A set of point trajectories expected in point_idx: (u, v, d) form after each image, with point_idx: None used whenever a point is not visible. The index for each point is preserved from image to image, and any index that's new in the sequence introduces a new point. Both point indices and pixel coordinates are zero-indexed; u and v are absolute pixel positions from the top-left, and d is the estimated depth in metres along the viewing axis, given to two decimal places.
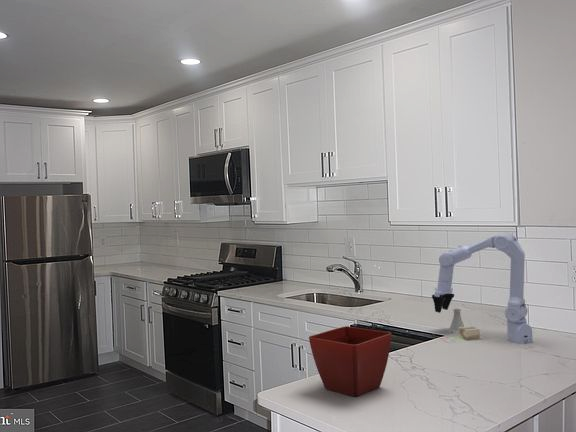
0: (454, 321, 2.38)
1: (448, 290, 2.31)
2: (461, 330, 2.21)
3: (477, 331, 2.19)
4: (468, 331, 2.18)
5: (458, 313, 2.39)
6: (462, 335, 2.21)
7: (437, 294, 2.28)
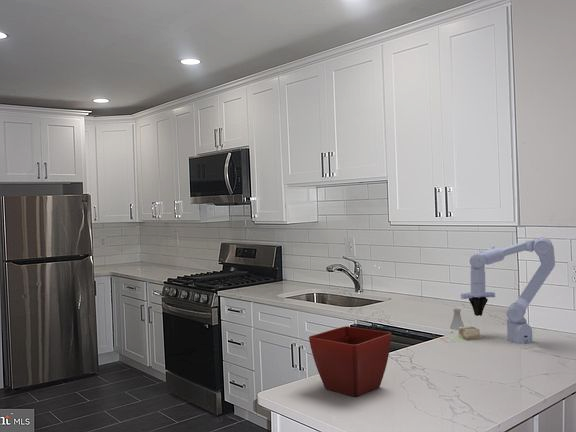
0: (454, 321, 2.38)
1: (478, 292, 2.20)
2: (461, 330, 2.21)
3: (477, 331, 2.19)
4: (468, 331, 2.18)
5: (458, 313, 2.39)
6: (462, 335, 2.21)
7: (462, 296, 2.20)
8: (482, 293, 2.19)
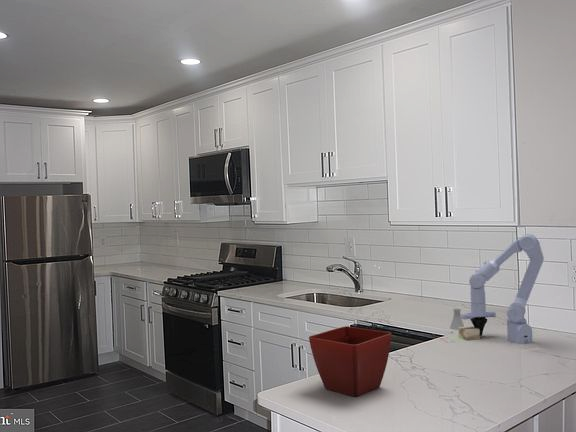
0: (454, 321, 2.38)
1: (478, 313, 2.19)
2: (461, 330, 2.21)
3: (477, 331, 2.19)
4: (468, 331, 2.18)
5: (458, 313, 2.39)
6: (462, 335, 2.21)
7: (462, 316, 2.20)
8: (482, 313, 2.19)
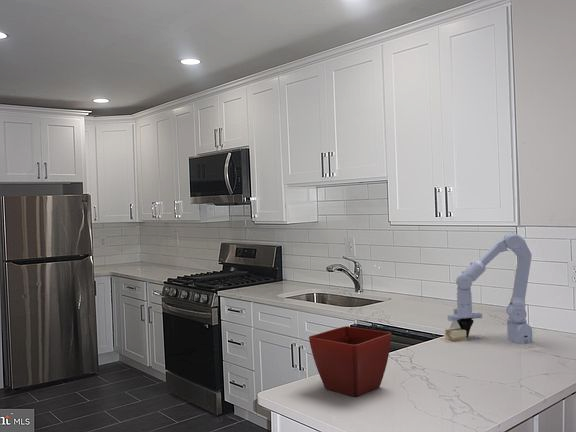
0: (454, 321, 2.38)
1: (465, 314, 2.18)
2: (448, 331, 2.19)
3: (464, 332, 2.17)
4: (455, 332, 2.16)
5: None
6: (449, 336, 2.19)
7: (449, 318, 2.19)
8: (469, 314, 2.18)
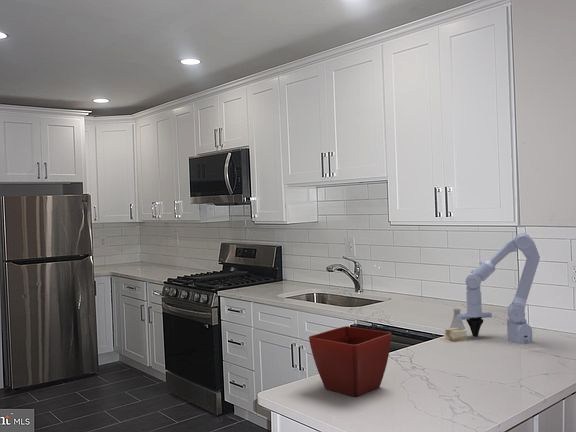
0: (454, 321, 2.38)
1: (474, 313, 2.19)
2: (448, 331, 2.19)
3: (464, 332, 2.17)
4: (455, 332, 2.16)
5: (458, 313, 2.39)
6: (449, 336, 2.19)
7: (458, 317, 2.20)
8: (478, 314, 2.19)
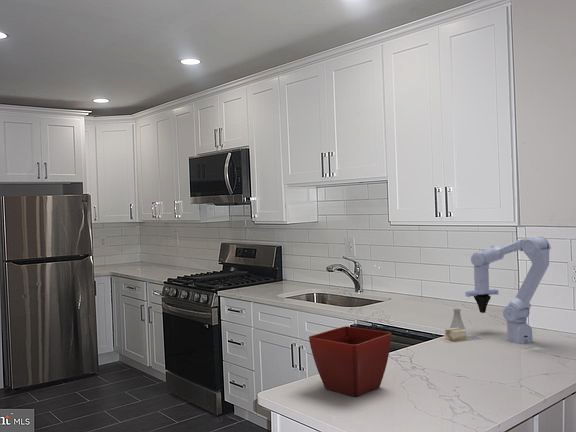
0: (454, 321, 2.38)
1: (482, 290, 2.25)
2: (448, 331, 2.19)
3: (464, 332, 2.17)
4: (455, 332, 2.16)
5: (458, 313, 2.39)
6: (449, 336, 2.19)
7: (467, 294, 2.26)
8: (486, 290, 2.25)
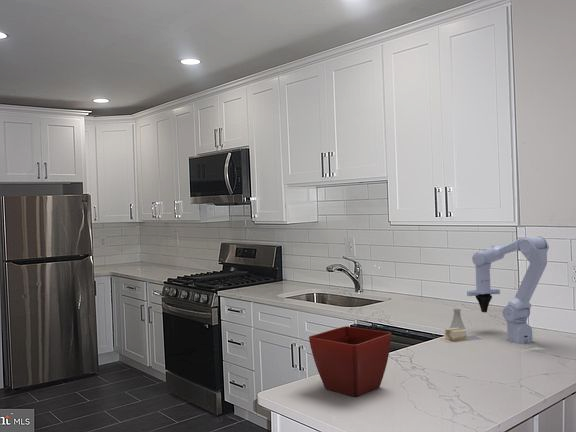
0: (454, 321, 2.38)
1: (484, 290, 2.26)
2: (448, 331, 2.19)
3: (464, 332, 2.17)
4: (455, 332, 2.16)
5: (458, 313, 2.39)
6: (449, 336, 2.19)
7: (468, 293, 2.27)
8: (487, 290, 2.26)
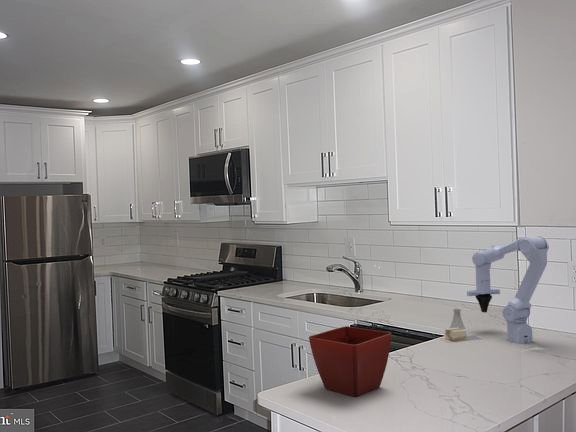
0: (454, 321, 2.38)
1: (484, 290, 2.26)
2: (448, 331, 2.19)
3: (464, 332, 2.17)
4: (455, 332, 2.16)
5: (458, 313, 2.39)
6: (449, 336, 2.19)
7: (468, 293, 2.27)
8: (487, 290, 2.26)
